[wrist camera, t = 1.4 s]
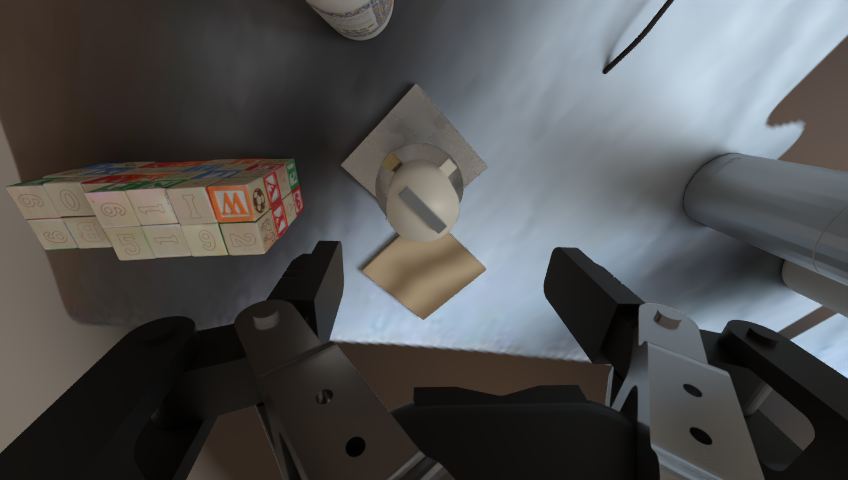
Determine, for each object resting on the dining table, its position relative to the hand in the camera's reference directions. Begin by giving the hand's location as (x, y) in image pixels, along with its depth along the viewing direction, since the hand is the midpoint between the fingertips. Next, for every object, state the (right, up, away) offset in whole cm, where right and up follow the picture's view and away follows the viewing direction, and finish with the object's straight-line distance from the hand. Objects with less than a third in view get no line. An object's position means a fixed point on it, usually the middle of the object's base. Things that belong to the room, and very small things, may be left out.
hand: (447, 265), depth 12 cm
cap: (-1, +5, +15) cm, 16 cm away
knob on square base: (-2, +10, +24) cm, 26 cm away
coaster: (-1, -3, +31) cm, 31 cm away
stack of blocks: (-26, +7, +24) cm, 37 cm away
